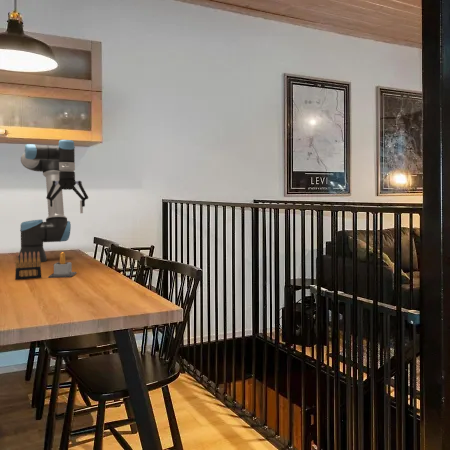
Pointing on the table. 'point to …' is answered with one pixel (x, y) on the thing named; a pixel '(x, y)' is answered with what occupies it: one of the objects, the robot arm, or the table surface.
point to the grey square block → (62, 268)
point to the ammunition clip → (27, 266)
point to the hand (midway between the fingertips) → (67, 213)
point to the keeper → (62, 261)
